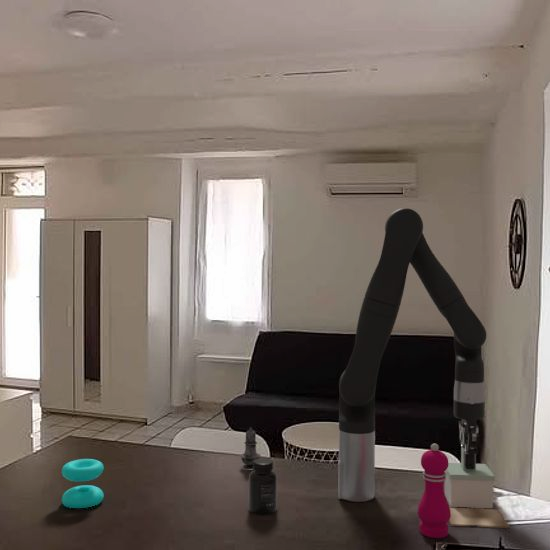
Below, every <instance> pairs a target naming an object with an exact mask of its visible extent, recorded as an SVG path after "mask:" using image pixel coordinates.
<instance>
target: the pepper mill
mask: <svg viewBox="0 0 550 550" xmlns="http://www.w3.org/2000/svg"><path fill="white" fill-rule="evenodd" d="M439 449H440V446H439V444H437V443H432V444H431V445H430V449H428V450H426V451H424V452H423V454H422V455H421V458H420V465H421V467H422V469H423V471H422V474H423V475H422V478H423V479H424V491H423V494H422V497H421V499H420V501H419V503H418V506H417V516H418V518H419V520H420V522H419V533H421V535H423V536H426V537H428V538H431V539H432V538H434V539H441V538H445V537H447V536H449V524H447V523H448V522H449V520H450V517H451V512H450V508H451V506H450V504H449V502H448V500H447V498H446V496H445V480H446V473H445V470H446V469H447V468H448V463H449V459H448V456H447V455H446V454H445V452H443V451H441V450H439Z"/></svg>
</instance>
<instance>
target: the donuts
mask: <svg viewBox="0 0 550 550" xmlns="http://www.w3.org/2000/svg"><path fill="white" fill-rule="evenodd" d="M103 471H104V464H103V462H101V461H100V460H97V459H93V458H80V459H74V460H71V461H69V462H67V463H65V464H64V465H63V466H62V468H61V475H62V476H63V477H64V478H65V479H66V480H68V481H71V482H75V483H77V482H78V483H79V482H80V483H81V482H89V481H92V480H95V479H97V478H98V477H100V476H101V475H102V473H103ZM104 495H105V494H104V492H103V490H102V489H101V488H100V487H97V486H95V485H91V484H90V485H89V484H88V485H87V484H85V485H84V484H83V485H77V486H74V487H71V488H69V489H67V490H66V491H65V492H64V493H63V494H62V497H61V502H62V504H63V506H64V507H66V508H68V507H69V508H68V509H71V508H86V509H88V508H87V507H91V508H93V507H92V506H94V507H96V506H98V505H100V504H101V503H102V502H103V500H104V497H105V496H104ZM95 505H96V506H95Z"/></svg>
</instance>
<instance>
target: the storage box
mask: <svg viewBox="0 0 550 550" xmlns="http://www.w3.org/2000/svg"><path fill="white" fill-rule="evenodd" d="M445 473H446V480H445V481H444V494H445V497H446V500H447V502H448V504H449V507H450V508H457V507H468V508H467V509H484V508H493V506H494V505H493V504H494V502H493V501H494V499H493V497H494V492H493V491H494V484H493V483H494V481H481V480H451V479H450V478H449V476H448V474H447V472H446V471H445ZM469 507H471V508H469ZM474 507H475V508H474ZM493 509H494V508H493Z"/></svg>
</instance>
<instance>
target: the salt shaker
mask: <svg viewBox="0 0 550 550" xmlns="http://www.w3.org/2000/svg"><path fill="white" fill-rule="evenodd" d="M256 440H257V437H256V431H255V430H254V429H253V428H252V427H251V426H250V427H249V430H247V431H246V432H245V442H244V444H245V446H244V447H245V451H244V453H241V454H240V457H241V461H242V463H243V465H242V466H243V468H244V469H253V461H254V460H256V459H261V454H260V453H258V452H257V449H256V448H257V446H256V445H257V441H256Z"/></svg>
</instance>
